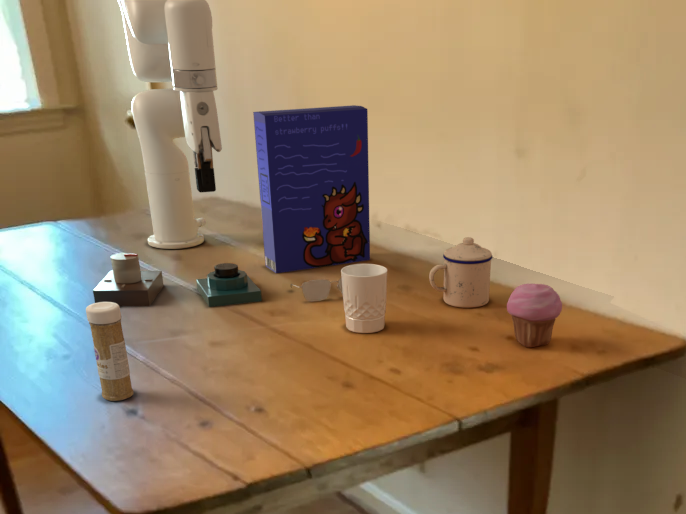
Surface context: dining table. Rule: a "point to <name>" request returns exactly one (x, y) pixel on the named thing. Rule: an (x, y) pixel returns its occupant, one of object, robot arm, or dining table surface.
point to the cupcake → (534, 313)
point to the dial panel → (130, 290)
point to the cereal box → (313, 186)
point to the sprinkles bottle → (110, 350)
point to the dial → (126, 268)
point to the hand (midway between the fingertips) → (206, 190)
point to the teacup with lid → (465, 275)
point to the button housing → (228, 290)
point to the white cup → (364, 297)
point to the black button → (226, 270)
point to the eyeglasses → (318, 289)
